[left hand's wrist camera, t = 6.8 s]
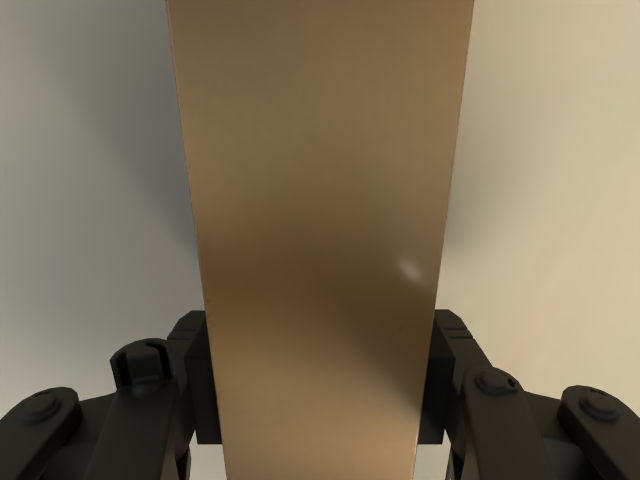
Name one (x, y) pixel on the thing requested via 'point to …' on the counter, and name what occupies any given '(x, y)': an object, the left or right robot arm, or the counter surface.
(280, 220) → the beam
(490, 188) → the counter surface
